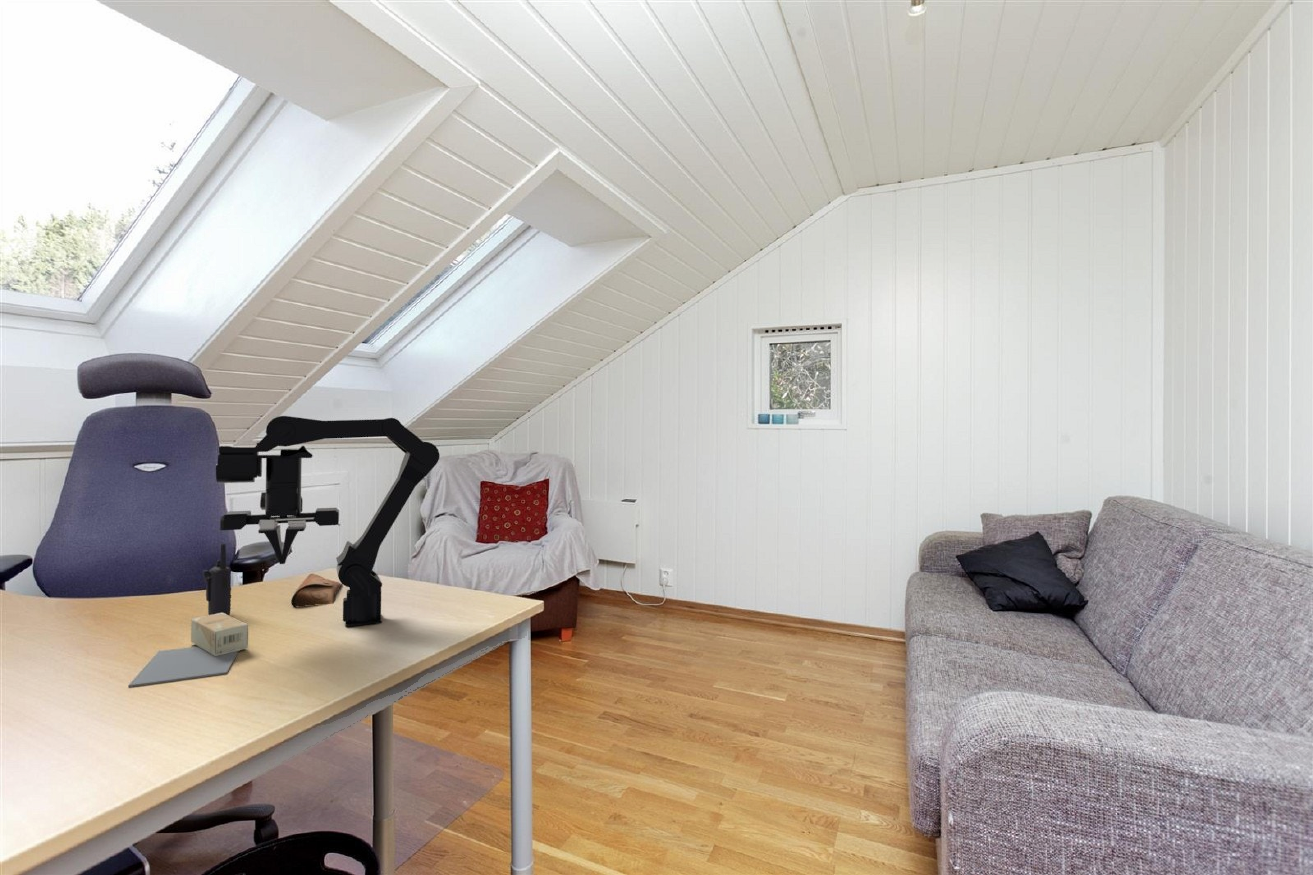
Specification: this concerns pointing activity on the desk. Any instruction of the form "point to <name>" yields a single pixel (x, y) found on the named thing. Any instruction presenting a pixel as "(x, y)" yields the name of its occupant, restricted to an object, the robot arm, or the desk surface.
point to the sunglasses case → (315, 591)
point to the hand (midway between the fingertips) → (282, 563)
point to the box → (219, 634)
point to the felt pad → (183, 666)
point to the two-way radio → (218, 586)
